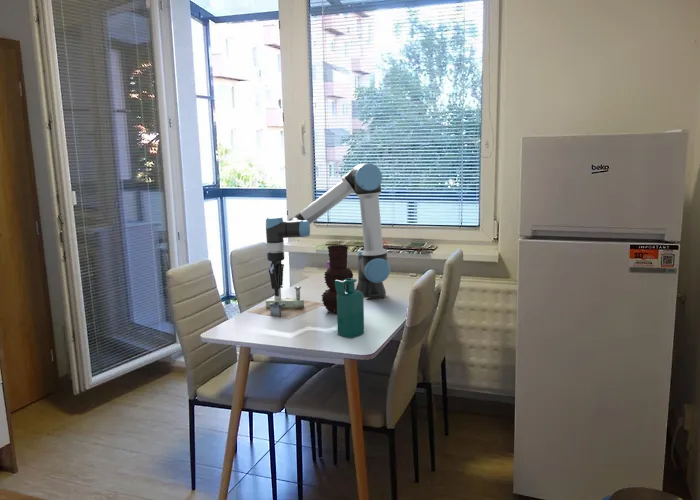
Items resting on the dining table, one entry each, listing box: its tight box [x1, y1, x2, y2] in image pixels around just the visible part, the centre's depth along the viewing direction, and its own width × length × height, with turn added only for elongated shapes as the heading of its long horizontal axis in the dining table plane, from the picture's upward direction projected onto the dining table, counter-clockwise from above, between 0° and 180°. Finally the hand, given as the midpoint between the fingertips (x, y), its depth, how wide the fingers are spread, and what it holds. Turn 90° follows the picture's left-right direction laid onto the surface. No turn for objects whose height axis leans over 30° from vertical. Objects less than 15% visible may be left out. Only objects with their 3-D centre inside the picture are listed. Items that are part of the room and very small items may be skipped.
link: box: [265, 298, 305, 308], centre depth 251 cm, size 17×5×3 cm, turn 85°
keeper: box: [270, 302, 285, 318], centre depth 238 cm, size 5×4×5 cm
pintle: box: [294, 285, 302, 300], centre depth 250 cm, size 3×3×6 cm
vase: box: [321, 244, 354, 315], centre depth 241 cm, size 15×15×30 cm
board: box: [248, 297, 324, 320], centre depth 250 cm, size 23×28×2 cm
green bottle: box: [335, 277, 365, 339], centre depth 213 cm, size 10×8×22 cm
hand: (278, 302), depth 254 cm, fingers closed
